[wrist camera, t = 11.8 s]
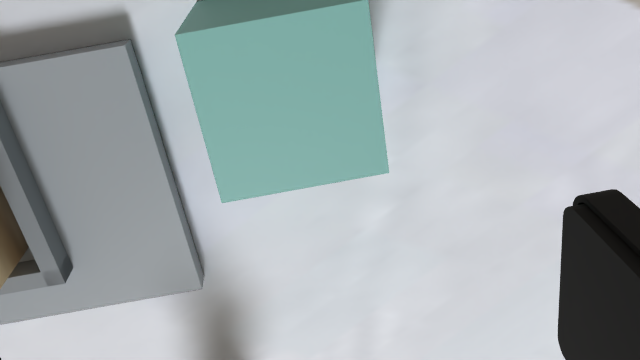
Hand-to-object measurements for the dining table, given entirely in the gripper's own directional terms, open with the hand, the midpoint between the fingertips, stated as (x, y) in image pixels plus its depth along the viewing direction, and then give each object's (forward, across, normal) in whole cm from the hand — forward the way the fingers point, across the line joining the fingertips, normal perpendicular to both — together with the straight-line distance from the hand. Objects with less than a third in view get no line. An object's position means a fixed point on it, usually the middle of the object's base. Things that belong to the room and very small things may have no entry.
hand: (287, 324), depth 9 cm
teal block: (+17, 0, 0) cm, 17 cm away
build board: (+17, +14, +4) cm, 22 cm away
